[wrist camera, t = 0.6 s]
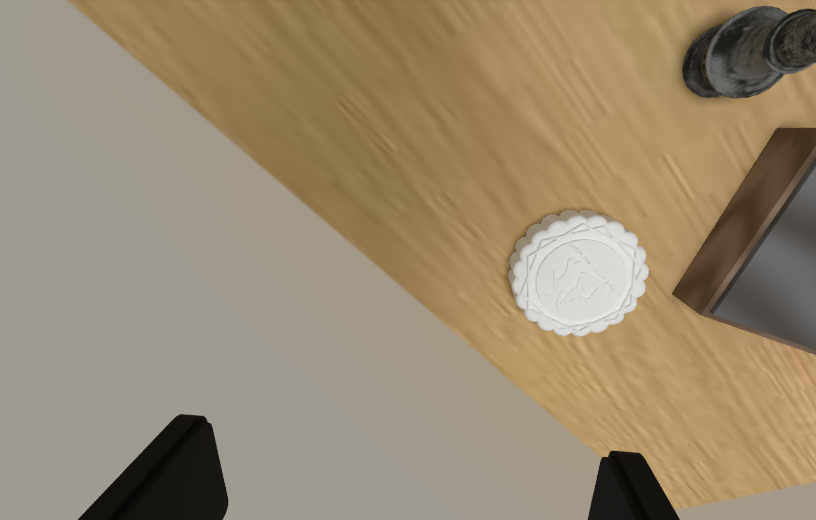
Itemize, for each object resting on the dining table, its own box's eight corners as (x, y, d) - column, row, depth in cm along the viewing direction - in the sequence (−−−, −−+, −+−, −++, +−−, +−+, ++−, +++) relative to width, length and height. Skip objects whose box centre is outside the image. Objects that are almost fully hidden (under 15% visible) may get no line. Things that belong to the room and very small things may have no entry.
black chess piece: (756, 93, 31) (932, 72, 20) (677, 108, 32) (801, 96, 21) (763, 11, 29) (960, -64, 18) (679, 30, 30) (816, -30, 19)
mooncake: (482, 266, 38) (485, 279, 35) (581, 181, 35) (594, 186, 31) (559, 343, 40) (569, 362, 37) (661, 270, 37) (682, 284, 33)
